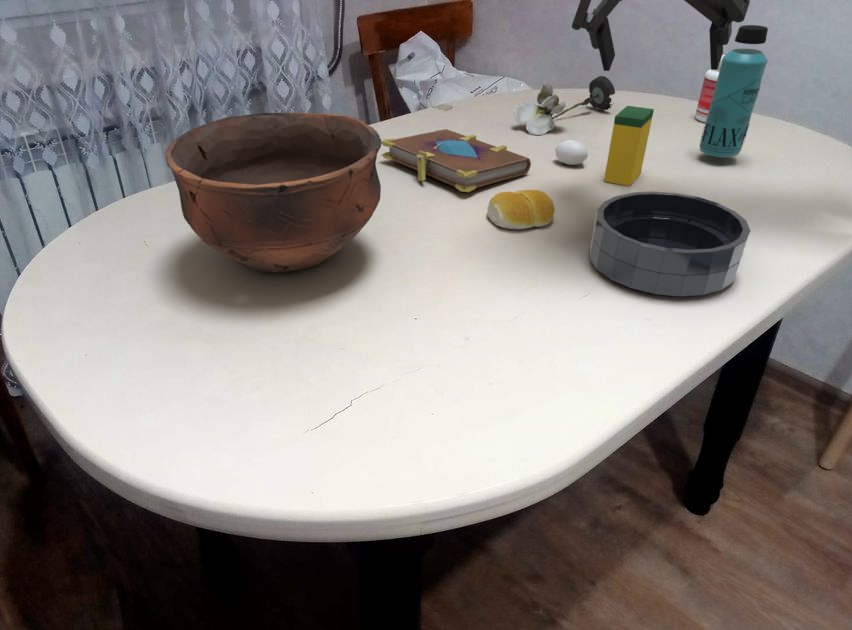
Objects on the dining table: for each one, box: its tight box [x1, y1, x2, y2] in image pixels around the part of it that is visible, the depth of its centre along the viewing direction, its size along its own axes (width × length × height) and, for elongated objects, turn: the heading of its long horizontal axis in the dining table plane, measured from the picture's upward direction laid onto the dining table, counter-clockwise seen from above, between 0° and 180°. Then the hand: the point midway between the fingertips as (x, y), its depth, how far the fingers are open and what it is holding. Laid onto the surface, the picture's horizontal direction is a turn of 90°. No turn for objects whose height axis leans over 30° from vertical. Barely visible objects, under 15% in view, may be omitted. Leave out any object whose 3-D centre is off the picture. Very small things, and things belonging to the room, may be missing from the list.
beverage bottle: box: [699, 24, 769, 158], centre depth 102 cm, size 6×7×20 cm
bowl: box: [164, 112, 382, 274], centre depth 80 cm, size 25×25×15 cm
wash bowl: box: [589, 191, 751, 297], centre depth 78 cm, size 17×17×6 cm
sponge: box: [603, 105, 655, 187], centre depth 100 cm, size 4×6×10 cm, turn 147°
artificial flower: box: [513, 75, 616, 136], centre depth 125 cm, size 9×22×10 cm, turn 122°
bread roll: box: [486, 189, 556, 230], centre depth 90 cm, size 8×9×4 cm
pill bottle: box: [694, 54, 726, 124], centre depth 122 cm, size 6×6×11 cm
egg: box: [554, 139, 589, 166], centre depth 107 cm, size 4×6×4 cm, turn 48°
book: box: [381, 128, 532, 193], centre depth 108 cm, size 16×25×5 cm, turn 37°
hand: (661, 62), depth 87 cm, fingers open, 13 cm apart
